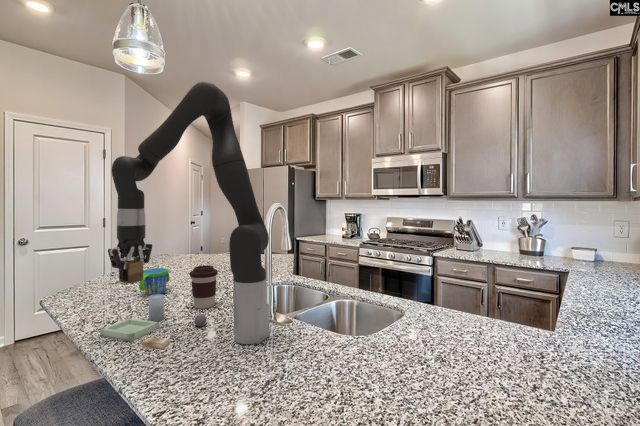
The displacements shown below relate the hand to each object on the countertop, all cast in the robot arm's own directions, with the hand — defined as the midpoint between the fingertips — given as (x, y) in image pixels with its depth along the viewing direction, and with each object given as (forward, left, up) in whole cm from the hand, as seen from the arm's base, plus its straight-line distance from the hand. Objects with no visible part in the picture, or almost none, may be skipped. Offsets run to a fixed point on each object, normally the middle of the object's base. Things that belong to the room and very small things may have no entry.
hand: (131, 279), depth 101 cm
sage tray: (0, +1, -16) cm, 16 cm away
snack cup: (+26, -34, -16) cm, 46 cm away
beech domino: (-15, +6, -17) cm, 23 cm away
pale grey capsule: (+1, -10, -16) cm, 19 cm away
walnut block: (0, 0, -1) cm, 1 cm away
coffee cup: (-5, -27, -16) cm, 32 cm away
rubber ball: (-17, -10, -14) cm, 24 cm away
